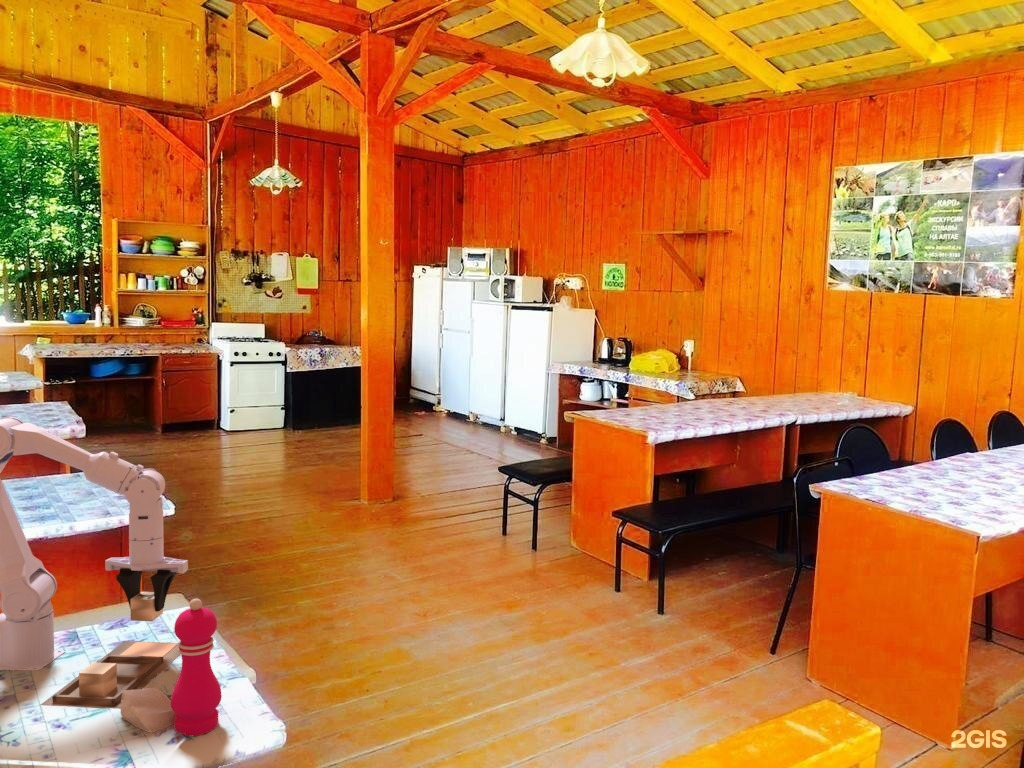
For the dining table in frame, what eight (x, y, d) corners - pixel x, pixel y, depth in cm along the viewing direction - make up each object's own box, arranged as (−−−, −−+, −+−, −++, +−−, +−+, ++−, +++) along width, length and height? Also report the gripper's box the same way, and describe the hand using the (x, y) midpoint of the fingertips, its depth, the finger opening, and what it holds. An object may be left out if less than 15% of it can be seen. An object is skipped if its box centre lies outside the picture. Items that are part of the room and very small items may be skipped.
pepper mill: (171, 742, 114) (170, 610, 112) (169, 719, 120) (168, 594, 119) (224, 732, 117) (223, 603, 115) (219, 710, 123) (218, 588, 122)
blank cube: (79, 696, 126) (78, 673, 125) (93, 685, 130) (93, 662, 129) (103, 697, 125) (103, 674, 125) (116, 686, 129) (116, 663, 129)
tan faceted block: (170, 749, 119) (185, 716, 118) (128, 753, 114) (143, 719, 114) (152, 706, 126) (165, 675, 125) (111, 708, 121) (125, 676, 121)
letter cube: (130, 620, 141) (130, 598, 141) (142, 612, 145) (141, 591, 145) (152, 621, 141) (152, 599, 141) (162, 613, 145) (162, 591, 144)
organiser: (40, 707, 123) (40, 698, 123) (124, 643, 148) (124, 635, 148) (120, 711, 122) (120, 702, 122) (191, 646, 147) (191, 638, 147)
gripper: (95, 541, 138) (96, 615, 139) (175, 544, 138) (175, 618, 139) (116, 531, 145) (117, 601, 146) (192, 533, 145) (193, 604, 146)
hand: (147, 609), depth 143 cm, fingers closed on letter cube, 4 cm apart
